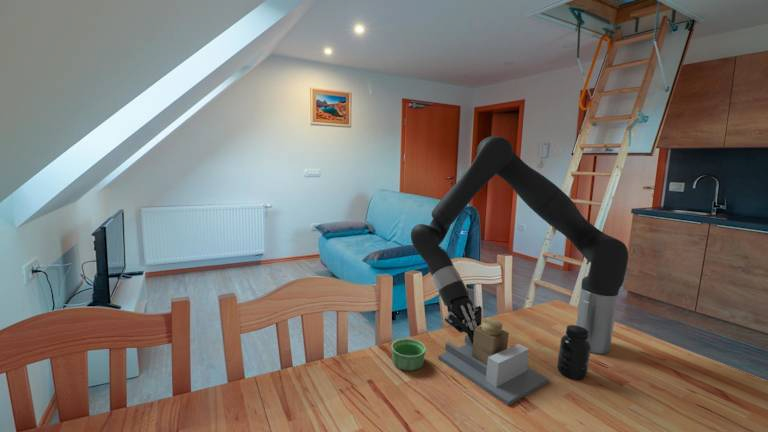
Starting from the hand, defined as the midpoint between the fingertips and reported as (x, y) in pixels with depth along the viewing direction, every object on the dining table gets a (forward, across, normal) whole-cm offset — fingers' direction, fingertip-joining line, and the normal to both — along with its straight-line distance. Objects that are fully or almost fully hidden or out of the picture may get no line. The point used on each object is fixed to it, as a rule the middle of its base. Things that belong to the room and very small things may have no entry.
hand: (478, 344), depth 96 cm
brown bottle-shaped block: (+5, 0, 0) cm, 5 cm away
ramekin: (-3, -16, +10) cm, 19 cm away
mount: (+6, 0, 0) cm, 6 cm away
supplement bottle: (+15, +17, -8) cm, 24 cm away
